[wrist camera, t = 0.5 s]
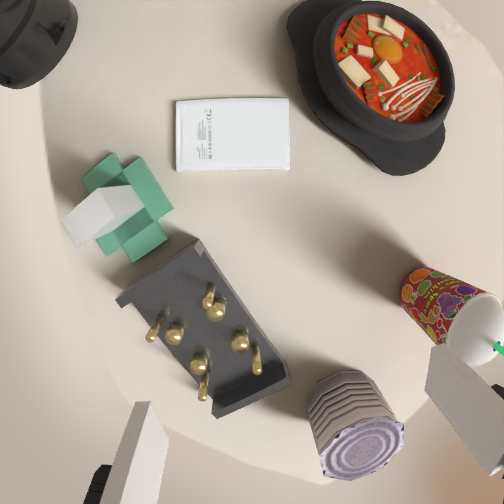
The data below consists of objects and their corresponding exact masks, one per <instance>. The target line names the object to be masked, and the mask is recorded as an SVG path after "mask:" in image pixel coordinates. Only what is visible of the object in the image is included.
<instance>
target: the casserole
mask: <svg viewBox="0 0 504 504" xmlns="http://www.w3.org/2000/svg"><path fill="white" fill-rule="evenodd" d="M287 30H288V33H289V36H290V39H291V42H292V45H293V47H294V50H295V54H296V62H297V70H298V79H299V83H300V86H301V89H302V91H303V94H304V96H305V98H306V100H307V102H308V104H309V106H310V107H311V109H312V110H313V112H314V113H315V114H316V115H317V117H318V118H319V119H320V120H321V122H322V123H323V124H324V125H325V126H327V127H328V128H329V129H330V130H331V131H332V132H333V133H334V134H336V135H337V136H339V137H341V138H342V139H344V140H345V141H347V142H348V143H350V144H351V145H353V146H355V147H356V148H358V149H359V150H361V151H362V152H363V153H364V154H365V155H366V156H367V157H368V158H369V159H370V160H371V161H372V162H373V163H374V164H375V165H376V166H377V167H378V168H379V169H380V170H381V171H382V172H385V173H387V174H390V175H392V176H404V175H408V174H412V173H415V172H417V171H419V170H421V169H423V168H425V167H426V166H427V165H428V164H429V163H431V162H432V161H433V160H434V159H435V157H436V156H437V155H438V153H439V152H440V150H441V148H442V146H443V143H444V141H445V127H444V123H443V121H444V119H445V118H446V115H447V113H448V110H449V109H450V106H451V104H452V101H453V97H454V90H455V81H454V73H453V68H452V64H451V62H450V59H449V56H448V54H447V52H446V50H445V48H444V47H443V45H442V43H441V41H440V40H439V39H438V37H437V36H436V35H435V34H434V32H433V31H432V30H431V29H430V28H429V27H428V26H427V25H426V24H425V23H424V22H423V21H421V20H420V19H419V18H418V17H416V16H415V15H414V14H412V13H410V12H408V11H407V10H405V9H403V8H401V7H398V6H396V5H393V4H390V3H385V2H380V1H364V2H363V1H362V0H308V1H305V2H303V3H302V4H301V5H299V6H298V7H297V8H296V9H294V10H293V12H292V13H291V15H290V16H289V17H288V22H287Z"/></svg>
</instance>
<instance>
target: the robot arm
mask: <svg viewBox="0 0 504 504" xmlns="http://www.w3.org/2000/svg"><path fill="white" fill-rule="evenodd" d="M77 22H78V15H77V11H76V8H75V6H74V5H73V4H72V3H71V2H70V1H69V0H0V85H2V86H5V87H8V88H12V89H22V88H26V87H28V86H31V85H33V84H35V83H36V82H38V81H40V80H41V79H42V78H44V77H45V76H46V75H47V74H48V73H49V72H50V71H51V70H52V69H53V68H54V67H55V66H56V65H57V64H58V63H59V61H60V60H61V59H62V57H63V56H64V54H65V53H66V51H67V50H68V48H69V46H70V44H71V42H72V40H73V38H74V35H75V32H76V28H77ZM425 392H426V393H427V394H428V396H429V397H430V398H431V399H432V401H433V402H434V403H435V405H436V406H437V407H438V408H439V410H440V411H441V412H442V414H443V415H444V416H445V418H446V419H447V420H448V421H449V423H450V424H451V425H452V427H453V428H454V429H455V431H456V432H457V433H458V435H459V436H460V437H461V439H462V440H463V441H464V443H465V444H466V446H467V447H468V448H469V450H470V451H471V452H472V454H473V455H474V456H475V458H476V459H477V460H478V462H479V463H480V465H481V466H482V468H483V469H484V470H485V472H486V473H487V475H488V476H489V477H490V476H491V475H493V474H494V473H496V472H497V471H499V470H500V469H502V468H503V466H504V388H503V387H501V386H499V385H497V384H495V385H493V386H491V387H490V386H489V385H488V384H487V383H486V382H485V381H484V380H483V379H482V378H481V377H479V375H478V374H477V373H476V372H475V371H473V370H472V369H471V368H470V367H469V366H468V365H467V364H466V363H465V362H464V361H463V360H462V359H461V358H460V357H459V356H458V355H456V354H455V353H454V352H453V351H452V350H451V349H450V348H449V347H448V346H447V345H446V344H445V343H443V344H440V345H437V346H434V347H432V348H431V355H430V362H429V368H428V374H427V380H426V385H425ZM168 444H169V439H168V437H167V435H166V433H165V431H164V429H163V427H162V425H161V423H160V420H159V418H158V416H157V414H156V412H155V410H154V407H153V405H152V403H151V401H148V402H135V405H134V407H133V410H132V413H131V415H130V418H129V421H128V423H127V426H126V429H125V431H124V434H123V437H122V440H121V442H120V445H119V448H118V451H117V454H116V457H115V459H114V462H113V465H101V467H99V468H98V470H97V471H96V472H95V473H94V476H93V479H92V481H91V484H90V486H89V489H88V490H89V491H88V492H87V495H86V497H85V500H84V503H83V504H157V501H158V496H159V490H160V485H161V480H162V474H163V469H164V464H165V459H166V454H167V449H168ZM502 479H504V475H503V477H502ZM503 504H504V500H503Z"/></svg>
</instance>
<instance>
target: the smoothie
mask: <svg viewBox="0 0 504 504" xmlns="http://www.w3.org/2000/svg"><path fill="white" fill-rule="evenodd" d="M400 297H401V303H402V306H403V308H404V310H405V311H406V312H407V313H408V314H409V315H410V317H411V318H412V319H413V320H414V321H415V322H416V323H417V324H418V325H419V326H420V327H421V328H422V329H423V331H424V332H425V333H426V334H427V335H428V336H429V337H430V338H431V339H432V340H433V342H434V343H435V344H436V345H440V344H443V343H445V344H446V345H447V346H448V347H449V348H450V349H451V350H452V351H453V352H454V353H455V354H456V355H458V356H459V357H460V358H461V359H462V360H463V361H464V362H465V363H466V364H467V365H468V366H479V365H482V364H485V363H487V362H489V361H490V360H492V359H493V358H494V357H495V356H496V355H497V354H498V353H501V354H502V355H503V356H504V347H503V345H504V310H503V308H502V305H501V301H500V300H499V298H498V297H497V296H496V295H494V294H492V293H489V292H486V291H484V290H481V289H479V288H477V287H475V286H472V285H470V284H468V283H465V282H463V281H461V280H458V279H456V278H453V277H451V276H449V275H446V274H444V273H441V272H439V271H437V270H434V269H431V268H428V267H426V268H420V269H417V270H414V271H412V272H411V273H410V274H409V275H407V277H406V278H405V280H404V281H403V283H402V286H401V290H400Z"/></svg>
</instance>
